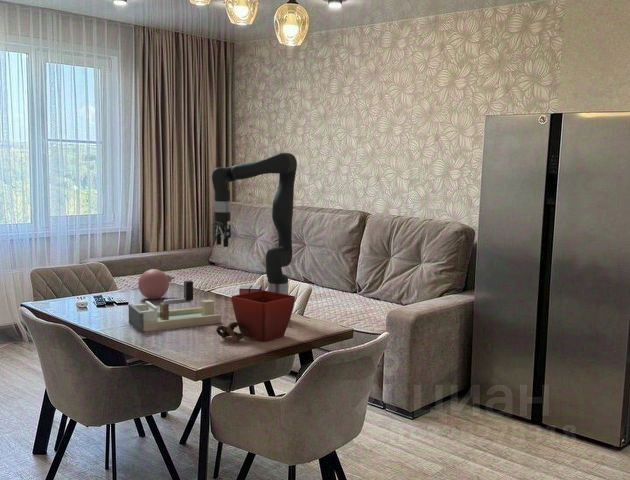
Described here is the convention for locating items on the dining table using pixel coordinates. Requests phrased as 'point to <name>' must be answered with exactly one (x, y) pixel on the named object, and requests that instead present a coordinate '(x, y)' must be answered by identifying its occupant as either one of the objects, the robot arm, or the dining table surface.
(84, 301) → the dining table surface
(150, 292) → the balloon
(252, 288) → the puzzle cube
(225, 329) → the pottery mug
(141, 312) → the tray with compartments
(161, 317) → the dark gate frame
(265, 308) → the plant pot
